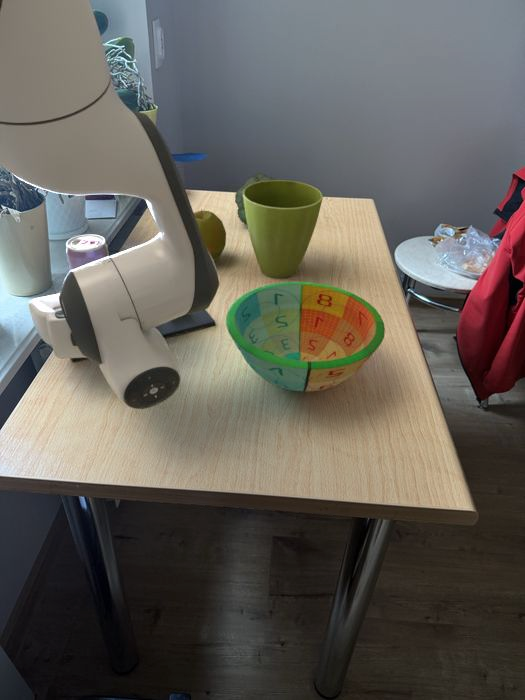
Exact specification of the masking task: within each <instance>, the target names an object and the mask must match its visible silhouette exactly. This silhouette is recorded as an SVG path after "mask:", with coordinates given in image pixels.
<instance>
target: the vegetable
mask: <svg viewBox="0 0 525 700" xmlns="http://www.w3.org/2000/svg"><path fill="white" fill-rule="evenodd" d="M270 180H279V179H278V178H273V177H269V176H267V175H266V174H264V173H259V172H258V173H256V174H254V175H252V176H249V177H248V179H247V180H245V181H244V183H243V184H242V186H241V187H240V188H238V190H237V191H236V192H235V196H234V202H235V204H236V206H237V217H238V220H239V221H241V223H243V224H244V225H245V226H248V225H247V220H246V214H245V206H244V199H243V191H244V189H245V188H246V187H248V186H249V185H251V184H254V183H257V182H262V181H270Z"/></svg>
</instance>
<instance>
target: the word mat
mask: <svg viewBox="0 0 525 700" xmlns="http://www.w3.org/2000/svg"><path fill="white" fill-rule="evenodd" d="M212 326H216V321H215V319H214V318H213V317H212V315H211V314H210V313H209V312H208V311H207V309H205V310H202V311H198V312H195V313H192V314H189V315H186V316H181V317H178V318H176V319H173V320H171V321H169V322H166V323H164V324H161V325H159V326H157V327H155V328H156V329H157V330H158V331H159V332H160V333H161V334H162V336H163V337H164V339H167V338H170V337H174V336H178V335H179V336H180V335H182V334H183V335H184V334H187V333H190V332H194V331H198V330H202V329H205V328H209V327H212ZM87 359H88V358H70V361H71V362H72V363H75V362H78V361H83V360H87Z"/></svg>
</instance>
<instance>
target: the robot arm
mask: <svg viewBox="0 0 525 700" xmlns="http://www.w3.org/2000/svg"><path fill="white" fill-rule="evenodd" d="M0 165H1V167H2V168H4V169H5V170H6V171H7V172H9V174H11V175H13V176H14V177H16V178H17V179H19V180H20V181H22V182H24V183H26V184H28V185H30V186H33V187H36V188H38V189H42V190H45V191H47V192H51V193H54V194H60V195H68V196H90V195H120V196H128V197H129V196H130V197H135V198H138V199H139V198H140V199H143V200H144V201H145V202H146V204H147V207H148V208H149V211H150V213H151V215H152V218H153V219H154V221H155V224H156V226H157V229H158V231H159V233H158V234H157V235H155V237H154V238H152V239H151V240H149V241H147V242H144V243H142V244H139V245H137V246H134V247H131V248H128V249H126V250H123V251H120V252H117V253H115V254H112V255H109V257H105V258H102V259H99V260H97V261H94V262H91V263H89V264H86V265H83V266H81V267H78V268H76V269H74V270H72V271H70V270H69V271H68V272H67V274H66V276H65V277H64V280H63V282H62V285H61V288H60V291H59V293H56V294H49V295H46V296H40V297H35V298H32V299H31V300H30V301H29V302H28V304H27V306H28V311H29V314H30V318H31V321H32V324H33V326H34V329H35V330H36V332H37V334H38V336H39V337H40V339H41V340H42V341H43V343H45V344H47V345H49V346H51V349H52V351H53V352H54V353H53V354H54V355H55V357H56V358H57V359H60V360H66V359H71V358H87V359H89V360H90V361H91V362H93V363H96V364H98V367H99V369H100V371H101V373H102V376H103V377H104V379H105V381H106V382H107V383H108V385H109V387H110V388H111V390H112V391H113V392H114V393H115V395H116V397H118V399H119V400H120V401H121V402H122V403H123V404H124V405H125V406H126V407H128V408H131V409H134V410H135V409H136V410H144V409H150V408H152V407H154V406H157V405H159V404H161V403H164V402H165V401H167V400H168V399H170V397H172V396H173V395H174V394H175V392H176V391H177V390H178V388H179V386H180V385H181V380H182V378H181V371H180V367H179V365H178V363H177V360H176V358H175V356H174V354H173V351H172V349H171V348H170V346H169V345H168V343H167V341H166V338H164V337H163V336H162V334H161V333H160V332H159V331H158V330H157V329H156V328H155V327H157V326H159V325H161V324H164V323H166V322H169V321H171V320H173V319H176V318H178V317H181V316H186V315H189V314H192V313H195V312H198V311H202V310H207V309H208V308H209V307H210V306H211V304H212V303H213V300H214V299H215V297H216V295H217V293H218V289H219V286H220V279H219V273H218V270H217V266H216V263H215V260H213V258H212V256H211V254H210V253H209V251H208V249H207V248H206V246H205V243H204V241H203V238H202V235H201V233H200V230H199V227H198V224H197V221H196V218H195V216H194V210H193V208H192V205H191V202H190V198H189V196H188V194H187V190H186V188H185V184H184V182H183V179H182V177H181V174H180V171H179V170H178V167H177V164H176V162H175V160H174V157H173V154H172V152H171V150H170V147H169V145H168V144H167V142H166V140H165V138H164V136H163V135H162V133H161V132H160V130H159V128H158V127H157V126H156V124H155V123H154V122H153V121H152V119H151V118H150V116H148V115H147V114H146V113H144V112H141V111H137V110H134V109H130V108H129V107H128V106H127V105H126V104H125V103H124V101H123V100H122V99H121V98H120V96H119V94H118V92H117V90H116V87H115V85H114V81H113V78H112V75H111V70H110V66H109V61H108V58H107V53H106V50H105V46H104V43H103V39H102V36H101V32H100V29H99V26H98V22H97V19H96V17H95V14H94V11H93V8H92V5H91V3H90V0H0Z"/></svg>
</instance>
